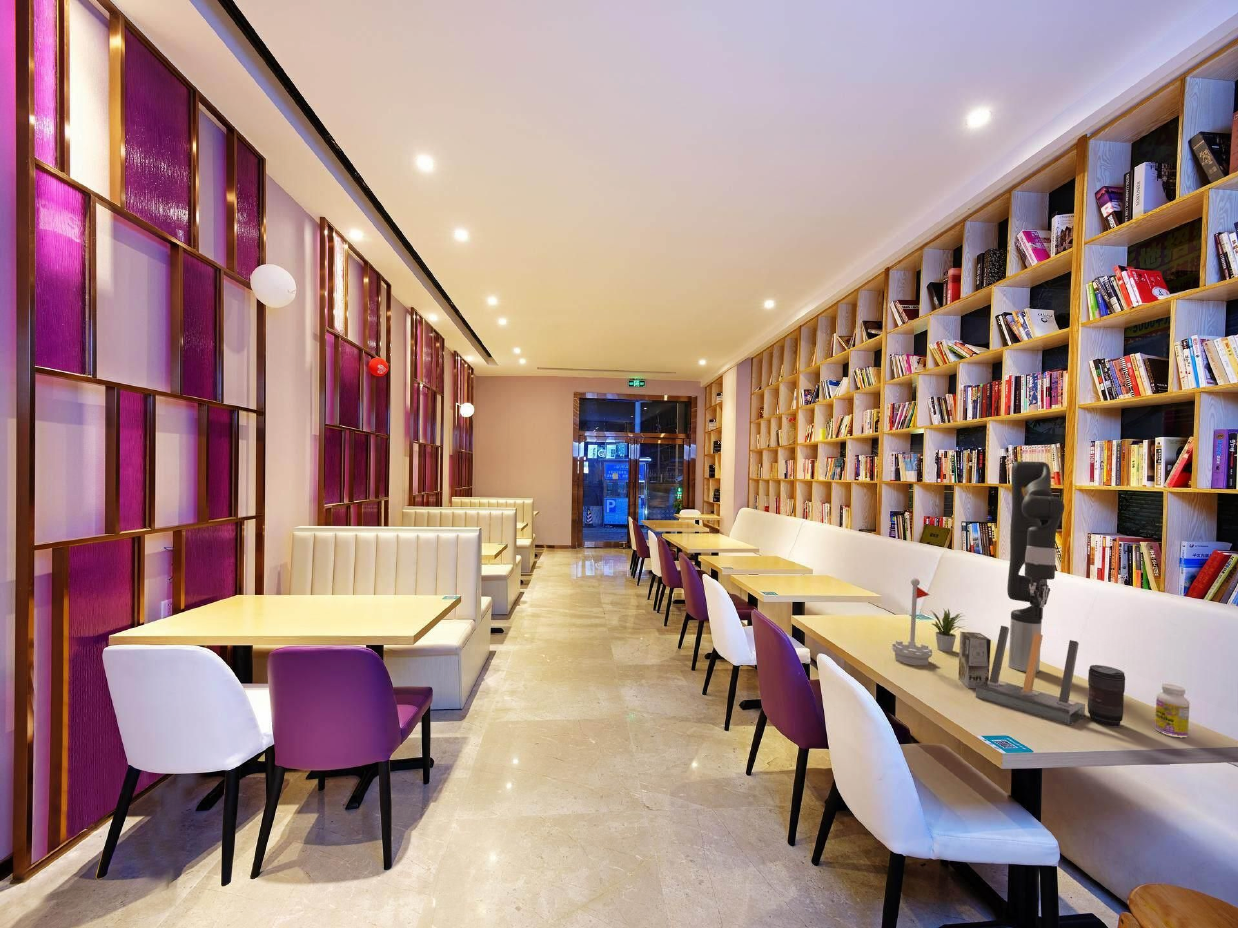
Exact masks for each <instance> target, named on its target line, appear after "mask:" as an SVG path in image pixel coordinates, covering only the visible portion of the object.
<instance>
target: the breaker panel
mask: <svg viewBox="0 0 1238 928" xmlns="http://www.w3.org/2000/svg"><path fill="white" fill-rule="evenodd" d="M998 683H999V687H998V688H997V687H993V686H990V685H988V684H987V682H986V683H984V684H982V685H978V687H976V689H975V698H976V699H977V698H978V699H981V700H984V701H987V702H990V703H994V704H997V705H1000V706H1004V707H1008V708H1010V709H1014V710H1016V711H1017V710H1018V711H1021V712H1024V713H1028V714H1030V715H1034V716H1038V717H1041V718H1044V719H1048V720H1050V721H1054V722H1058V723H1061V724H1064V725H1067V726H1071V725H1072V724H1074V723H1075V722H1077V721H1078V720H1079V719H1081V718H1082V717H1083V716H1085V714H1086V704H1085V703H1083V702H1078V701H1075V700H1071V699H1069V702H1068V703H1070V707H1069V708H1068V707H1064V706H1061V705H1057V700H1059V697H1060V696H1056V695H1053V694H1050V693H1046V692H1042V691H1038V690H1035V689H1032V693H1033V697H1029V696H1025V695H1022V694H1021V690H1023V687H1024V686H1020V685H1016V684H1013V683H1009V682H1007V681H1003V680H999V681H998Z"/></svg>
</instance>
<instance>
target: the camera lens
mask: <svg viewBox="0 0 1238 928" xmlns="http://www.w3.org/2000/svg"><path fill="white" fill-rule="evenodd" d="M1087 679H1088V680H1087V683H1088V694H1087V696H1088V697H1087V713H1088V715H1089V720H1091V722H1093V723H1096V724H1097V725H1102V726H1105V727H1106V726H1107V727H1110V728H1119V727H1121V722H1122V721H1123V717H1124V707H1125V705H1124V699H1125V698H1124V697H1125V691H1126V690H1125V689H1126V688H1125V687H1126V676H1125V672H1124V671H1123V670H1121V669H1118V668H1116V667H1112V666H1108V665H1101V664H1100V665H1099V664H1092V665H1090V666H1089V669H1088V678H1087Z"/></svg>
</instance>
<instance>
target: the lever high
mask: <svg viewBox="0 0 1238 928" xmlns="http://www.w3.org/2000/svg"><path fill="white" fill-rule="evenodd" d="M1078 649H1079V642H1078V641H1077V640H1072V639H1069V643H1068V647H1067V654H1066V657H1065V664H1064V665H1065V666H1064V670H1063V675H1062V681H1061V682H1062V683H1061V687H1060V692H1059V696H1058V697H1059V700H1057V705H1061V706H1064V707H1068V708H1069V707H1070V703H1068V702H1069V700H1070V697H1071V691H1072V690H1071V689H1072V686H1073V685H1072V684H1073V678H1074V672H1075V666H1076V661H1077V654H1078Z"/></svg>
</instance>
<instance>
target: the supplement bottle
mask: <svg viewBox="0 0 1238 928" xmlns="http://www.w3.org/2000/svg"><path fill="white" fill-rule="evenodd" d="M1161 689H1162V692H1159V693H1157V695H1156V700H1155V702H1156V703H1155V705H1156V706H1155V720H1154V721H1155V722H1154V729H1155V731H1157V730H1159V731H1160V732H1164V733H1166V734H1172V735H1177V736H1187V737H1188V736H1189V721H1190V720H1189V719H1190V717H1189V716H1190V701H1189V700H1188V699H1187V698H1186V697H1185V694H1186V689H1185V688H1184V687H1183V686H1180V685H1176V684H1171V683H1163V684H1162V685H1161ZM1160 732H1159V733H1160Z"/></svg>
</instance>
